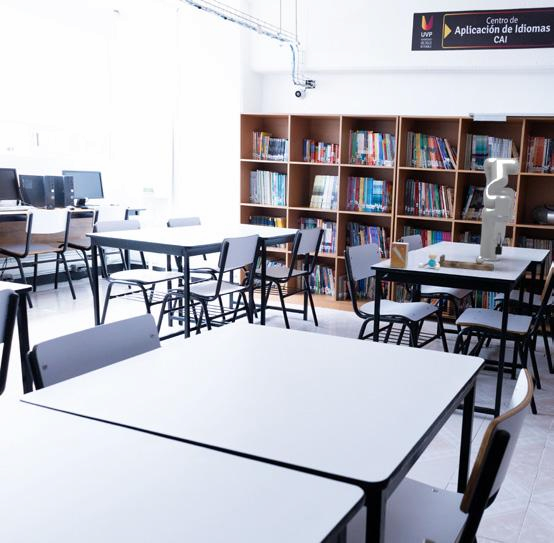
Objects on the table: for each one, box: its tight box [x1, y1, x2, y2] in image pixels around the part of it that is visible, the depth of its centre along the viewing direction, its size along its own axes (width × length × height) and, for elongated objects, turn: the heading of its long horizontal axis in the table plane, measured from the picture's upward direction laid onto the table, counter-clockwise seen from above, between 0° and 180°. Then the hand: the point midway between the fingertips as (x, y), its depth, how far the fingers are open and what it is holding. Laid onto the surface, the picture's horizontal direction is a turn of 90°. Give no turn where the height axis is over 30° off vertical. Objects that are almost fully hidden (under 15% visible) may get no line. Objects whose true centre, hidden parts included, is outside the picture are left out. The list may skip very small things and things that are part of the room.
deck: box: [437, 254, 495, 272], centre depth 355 cm, size 28×10×6 cm, turn 68°
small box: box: [389, 241, 410, 269], centre depth 348 cm, size 8×6×13 cm
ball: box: [475, 255, 485, 264], centre depth 352 cm, size 4×4×4 cm
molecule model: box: [417, 252, 441, 271], centre depth 349 cm, size 12×12×9 cm
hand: (498, 254), depth 348 cm, fingers closed
